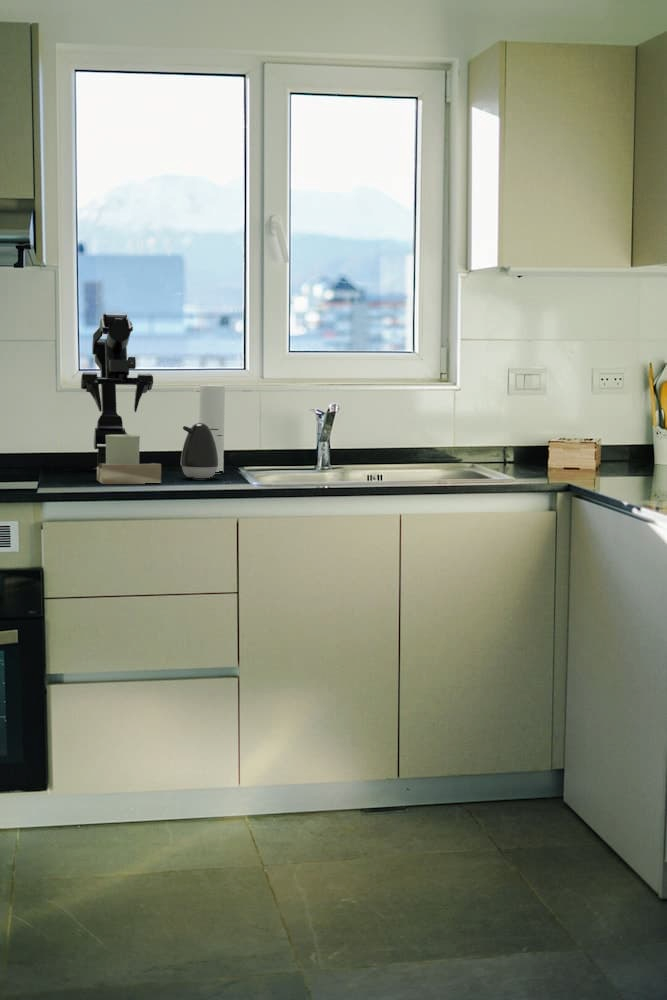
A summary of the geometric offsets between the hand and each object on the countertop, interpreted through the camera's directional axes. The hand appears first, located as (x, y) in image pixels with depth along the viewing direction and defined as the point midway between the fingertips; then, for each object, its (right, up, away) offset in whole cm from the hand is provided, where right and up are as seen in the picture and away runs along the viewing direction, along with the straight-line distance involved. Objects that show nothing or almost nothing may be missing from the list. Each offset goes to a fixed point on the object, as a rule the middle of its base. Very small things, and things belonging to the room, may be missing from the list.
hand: (118, 411), depth 325 cm
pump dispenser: (+21, -18, +9) cm, 29 cm away
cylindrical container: (+22, -16, +29) cm, 40 cm away
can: (0, -18, +4) cm, 18 cm away
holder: (+4, -19, -6) cm, 20 cm away
